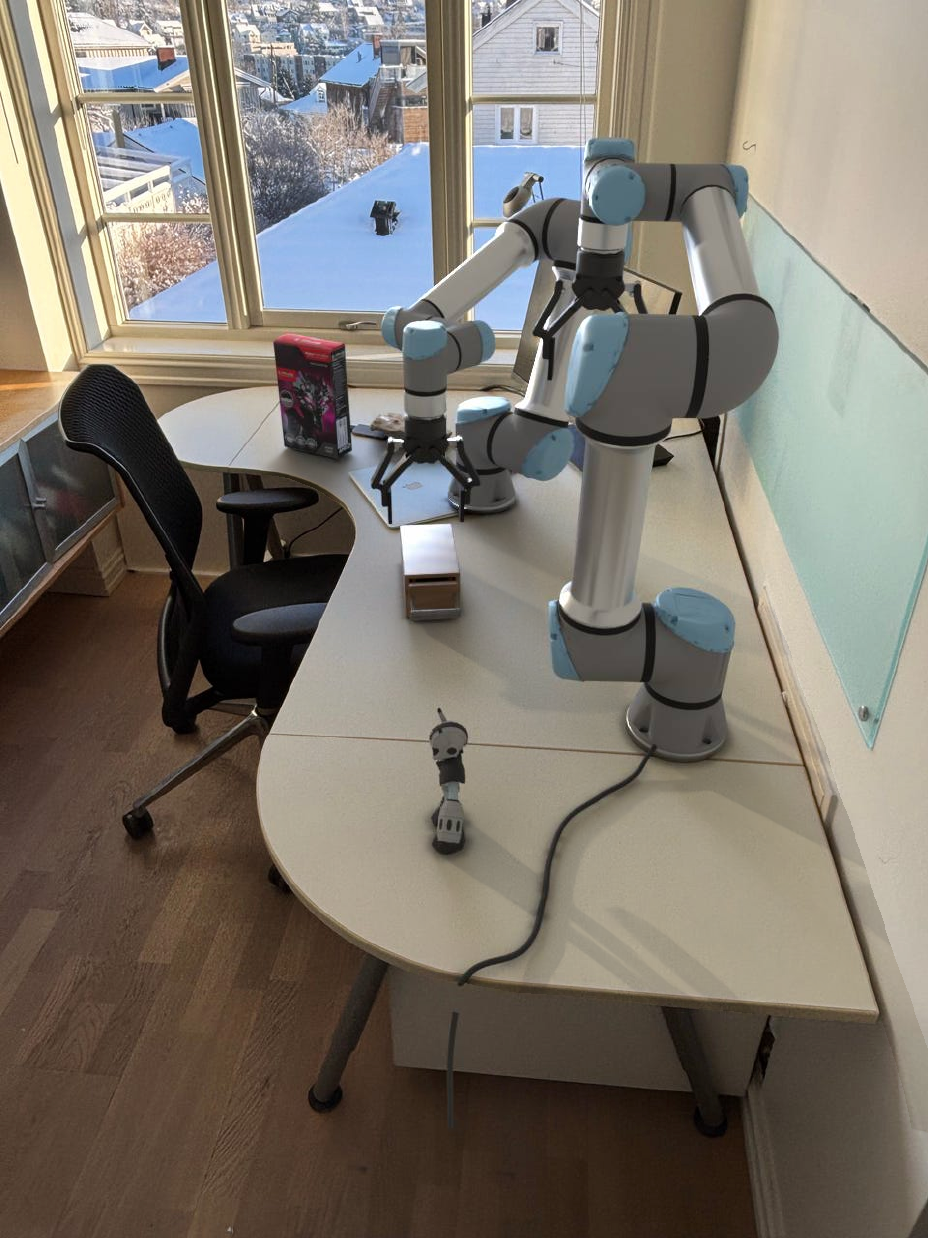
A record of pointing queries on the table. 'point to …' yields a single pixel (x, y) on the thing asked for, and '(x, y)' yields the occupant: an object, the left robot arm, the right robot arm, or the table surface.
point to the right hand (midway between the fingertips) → (590, 380)
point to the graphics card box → (313, 395)
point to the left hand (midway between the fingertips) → (425, 520)
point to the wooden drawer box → (428, 555)
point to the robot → (449, 784)
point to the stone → (393, 425)
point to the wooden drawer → (433, 598)
